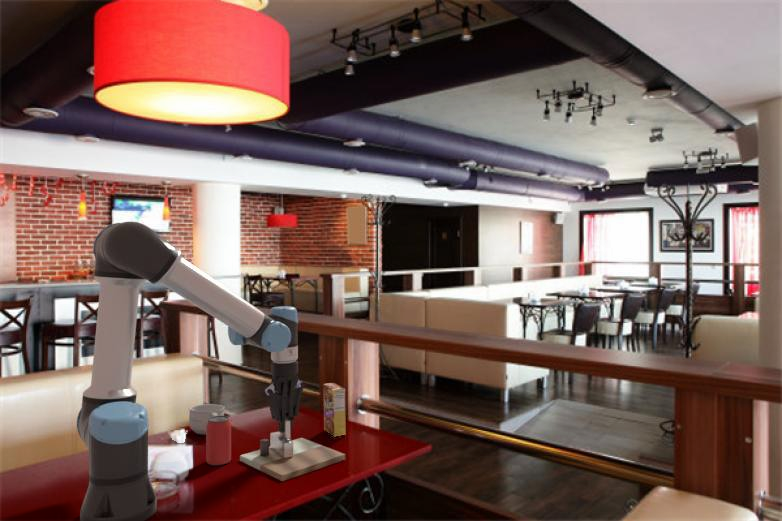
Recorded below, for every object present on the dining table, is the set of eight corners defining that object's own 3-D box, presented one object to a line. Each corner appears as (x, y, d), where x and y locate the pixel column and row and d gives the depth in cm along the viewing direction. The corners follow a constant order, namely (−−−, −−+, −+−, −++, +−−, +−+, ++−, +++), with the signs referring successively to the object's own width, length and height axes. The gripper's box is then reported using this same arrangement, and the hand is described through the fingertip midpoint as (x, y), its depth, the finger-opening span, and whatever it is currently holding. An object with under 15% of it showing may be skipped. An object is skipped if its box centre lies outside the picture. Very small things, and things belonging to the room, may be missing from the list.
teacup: (187, 429, 184) (187, 404, 184) (222, 425, 189) (222, 401, 188) (192, 442, 171) (191, 415, 171) (228, 437, 176) (228, 411, 176)
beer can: (223, 467, 151) (223, 422, 151) (201, 465, 153) (201, 421, 153) (235, 458, 158) (235, 415, 158) (213, 456, 159) (213, 414, 159)
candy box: (322, 430, 183) (322, 383, 183) (335, 428, 185) (335, 382, 185) (333, 438, 175) (333, 389, 175) (346, 436, 177) (346, 388, 177)
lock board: (282, 481, 142) (282, 459, 142) (240, 460, 156) (240, 440, 156) (345, 459, 157) (345, 439, 157) (301, 442, 171) (301, 424, 171)
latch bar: (293, 456, 155) (293, 439, 155) (284, 458, 153) (284, 441, 153) (278, 445, 164) (278, 429, 163) (270, 447, 162) (270, 430, 162)
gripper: (272, 365, 154) (273, 451, 155) (310, 359, 164) (311, 440, 164) (257, 362, 159) (258, 445, 160) (295, 356, 169) (296, 434, 169)
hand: (285, 442), depth 162 cm, fingers closed
